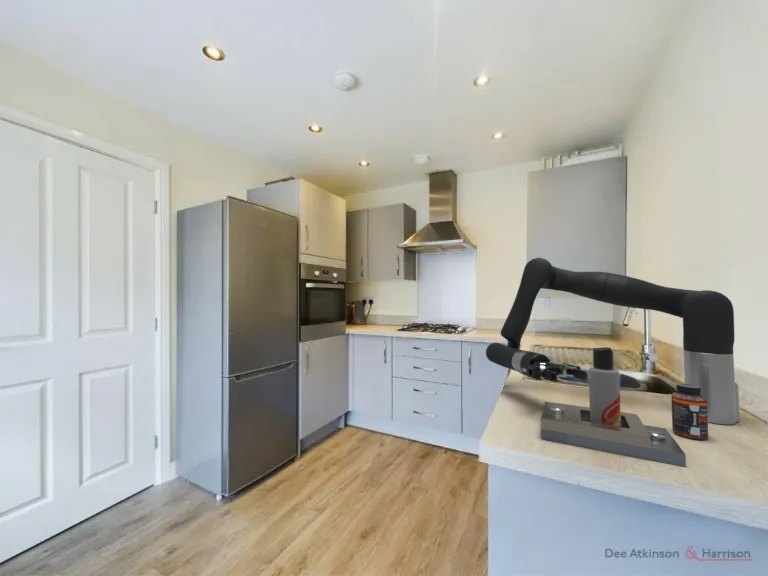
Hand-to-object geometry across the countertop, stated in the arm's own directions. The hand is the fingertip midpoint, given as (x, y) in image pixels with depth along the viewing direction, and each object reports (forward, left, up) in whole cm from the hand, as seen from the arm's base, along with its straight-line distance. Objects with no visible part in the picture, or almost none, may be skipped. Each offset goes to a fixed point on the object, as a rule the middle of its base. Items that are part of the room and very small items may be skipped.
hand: (570, 376), depth 81 cm
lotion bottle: (-2, +9, -12) cm, 15 cm away
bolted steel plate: (-1, +9, -11) cm, 15 cm away
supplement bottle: (-22, +9, -12) cm, 26 cm away
